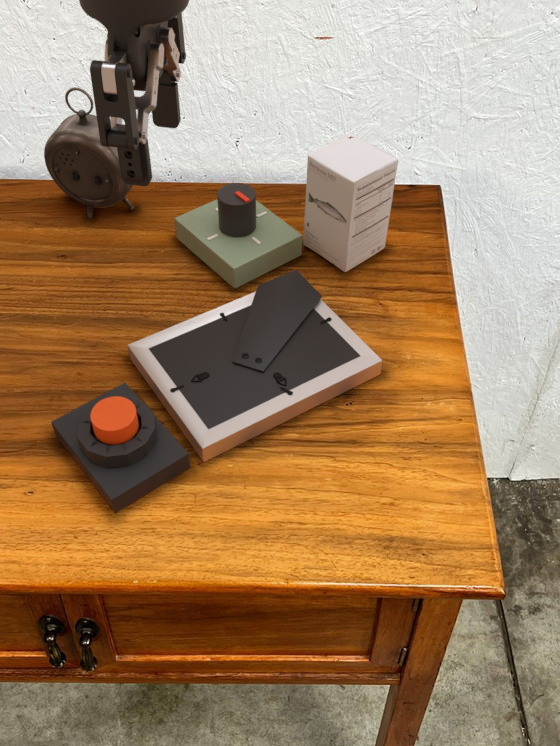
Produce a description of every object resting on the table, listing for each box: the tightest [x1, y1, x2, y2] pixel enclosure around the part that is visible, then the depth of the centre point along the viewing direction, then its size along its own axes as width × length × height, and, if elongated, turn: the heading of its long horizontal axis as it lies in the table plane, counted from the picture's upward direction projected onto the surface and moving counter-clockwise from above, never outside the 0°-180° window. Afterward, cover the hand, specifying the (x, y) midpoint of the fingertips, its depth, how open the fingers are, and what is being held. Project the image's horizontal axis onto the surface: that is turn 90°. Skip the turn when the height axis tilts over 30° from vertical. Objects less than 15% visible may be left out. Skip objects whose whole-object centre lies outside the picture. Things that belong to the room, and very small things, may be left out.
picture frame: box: [127, 269, 384, 463], centre depth 79 cm, size 16×3×21 cm
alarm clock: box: [43, 86, 135, 219], centre depth 93 cm, size 11×5×16 cm, turn 72°
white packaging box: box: [302, 132, 399, 273], centre depth 89 cm, size 7×7×13 cm
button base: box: [50, 382, 191, 514], centre depth 71 cm, size 11×8×4 cm
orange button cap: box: [90, 396, 139, 445], centre depth 69 cm, size 4×4×2 cm
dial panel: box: [173, 199, 303, 290], centre depth 93 cm, size 12×10×3 cm
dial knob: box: [216, 182, 257, 237], centre depth 90 cm, size 4×4×5 cm
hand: (153, 152), depth 62 cm, fingers open, 8 cm apart
